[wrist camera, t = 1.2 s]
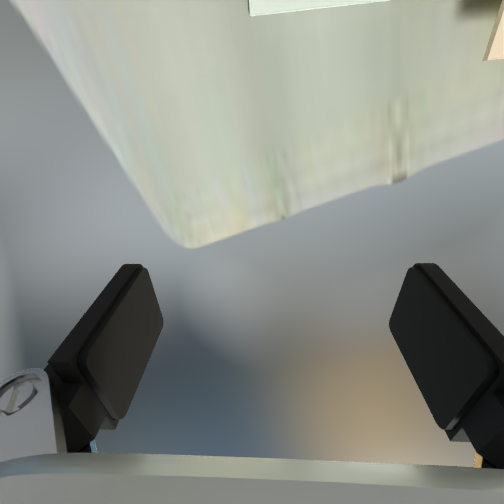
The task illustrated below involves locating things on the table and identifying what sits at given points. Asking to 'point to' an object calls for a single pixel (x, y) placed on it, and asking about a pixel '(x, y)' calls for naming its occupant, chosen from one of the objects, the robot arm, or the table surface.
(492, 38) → the kraft carton
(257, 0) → the sage rubber mat
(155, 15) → the table surface
